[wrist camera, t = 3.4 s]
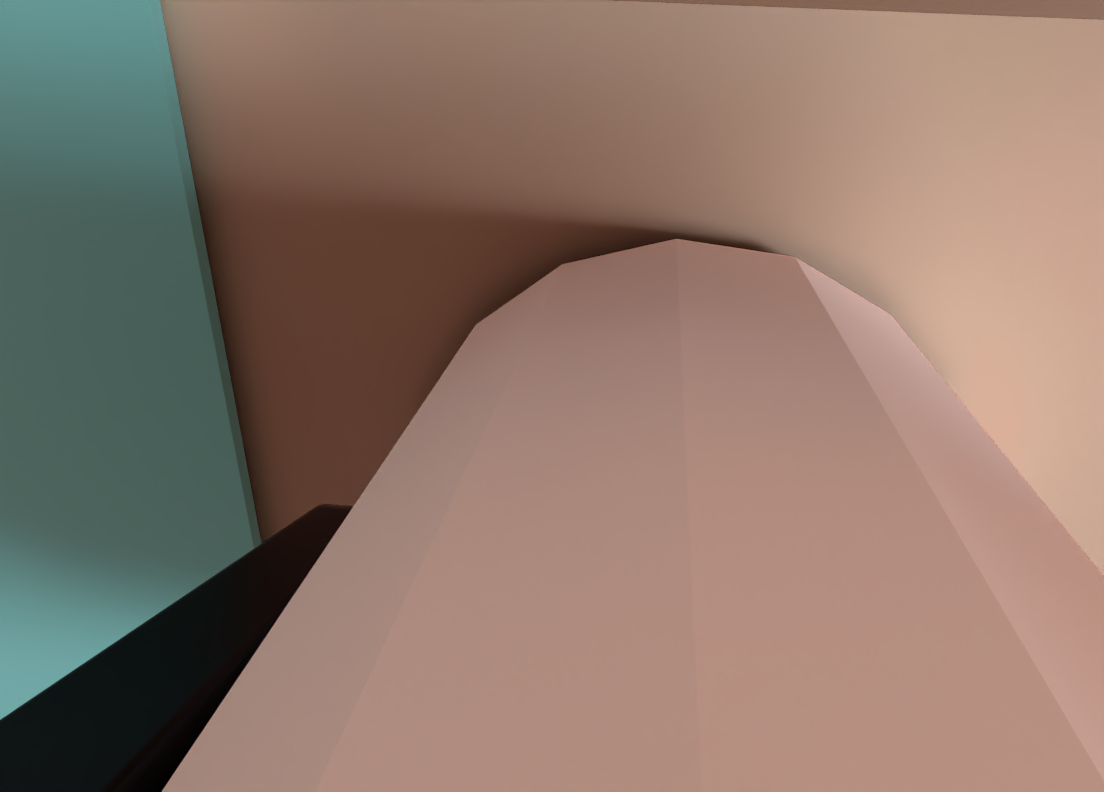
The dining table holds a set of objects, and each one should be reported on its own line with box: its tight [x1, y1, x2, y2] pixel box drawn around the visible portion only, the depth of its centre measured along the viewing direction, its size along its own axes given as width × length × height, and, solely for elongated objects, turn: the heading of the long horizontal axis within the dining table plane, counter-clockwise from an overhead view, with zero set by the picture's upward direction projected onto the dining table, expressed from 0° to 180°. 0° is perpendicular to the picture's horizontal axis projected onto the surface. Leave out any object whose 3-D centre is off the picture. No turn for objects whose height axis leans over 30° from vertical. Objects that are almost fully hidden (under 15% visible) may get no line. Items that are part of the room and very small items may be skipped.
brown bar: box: [614, 0, 1104, 20], centre depth 9 cm, size 13×8×2 cm, turn 179°
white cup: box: [162, 239, 1104, 792], centre depth 7 cm, size 7×7×7 cm
